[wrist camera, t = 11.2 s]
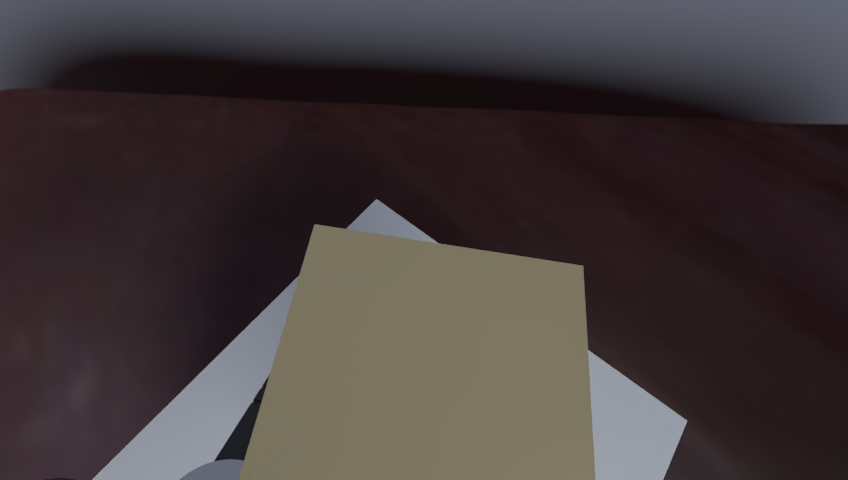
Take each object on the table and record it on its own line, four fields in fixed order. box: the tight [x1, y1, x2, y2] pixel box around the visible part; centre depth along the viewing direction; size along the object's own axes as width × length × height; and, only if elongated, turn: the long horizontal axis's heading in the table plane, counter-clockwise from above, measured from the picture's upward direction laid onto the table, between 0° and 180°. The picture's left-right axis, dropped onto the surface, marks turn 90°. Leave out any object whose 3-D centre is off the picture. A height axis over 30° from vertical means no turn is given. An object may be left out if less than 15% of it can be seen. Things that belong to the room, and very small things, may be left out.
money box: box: [92, 199, 687, 480], centre depth 20 cm, size 15×16×13 cm
